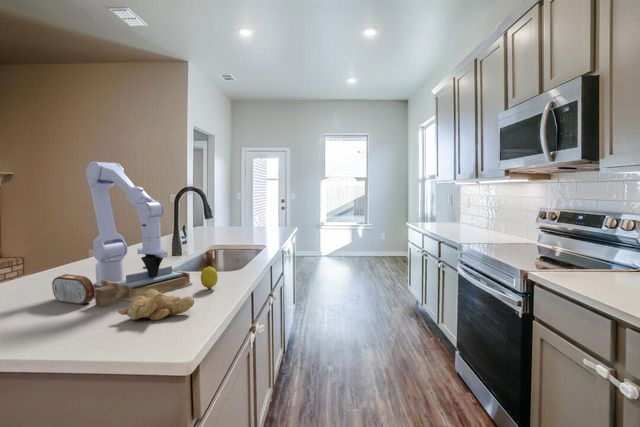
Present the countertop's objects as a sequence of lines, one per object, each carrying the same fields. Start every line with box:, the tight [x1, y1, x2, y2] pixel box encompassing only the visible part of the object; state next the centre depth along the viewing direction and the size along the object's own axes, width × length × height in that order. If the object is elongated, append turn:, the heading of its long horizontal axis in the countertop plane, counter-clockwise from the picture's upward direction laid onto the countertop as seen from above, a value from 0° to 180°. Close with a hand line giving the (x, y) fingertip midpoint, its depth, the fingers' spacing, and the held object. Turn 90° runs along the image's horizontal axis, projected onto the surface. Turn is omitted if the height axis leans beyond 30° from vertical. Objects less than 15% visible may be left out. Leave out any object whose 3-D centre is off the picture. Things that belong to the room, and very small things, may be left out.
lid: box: [115, 265, 183, 287], centre depth 123 cm, size 8×20×3 cm, turn 147°
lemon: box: [200, 265, 219, 290], centre depth 122 cm, size 6×6×8 cm
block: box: [94, 286, 117, 308], centre depth 108 cm, size 4×4×5 cm
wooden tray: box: [100, 269, 193, 303], centre depth 124 cm, size 19×23×4 cm
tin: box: [51, 273, 96, 306], centre depth 110 cm, size 15×3×8 cm, turn 71°
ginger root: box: [117, 289, 195, 321], centre depth 97 cm, size 16×16×8 cm
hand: (153, 276), depth 122 cm, fingers closed
